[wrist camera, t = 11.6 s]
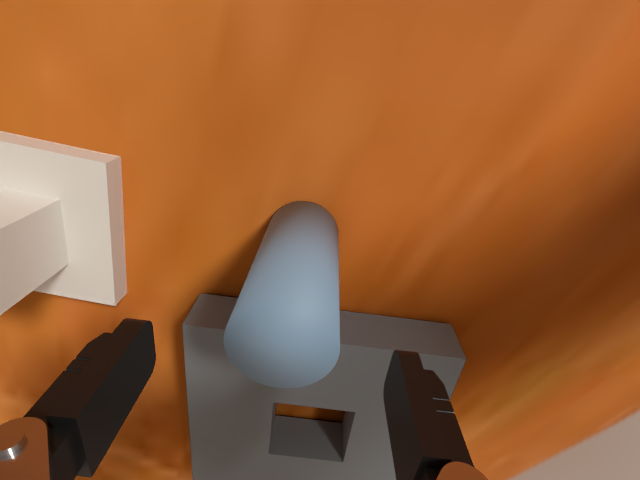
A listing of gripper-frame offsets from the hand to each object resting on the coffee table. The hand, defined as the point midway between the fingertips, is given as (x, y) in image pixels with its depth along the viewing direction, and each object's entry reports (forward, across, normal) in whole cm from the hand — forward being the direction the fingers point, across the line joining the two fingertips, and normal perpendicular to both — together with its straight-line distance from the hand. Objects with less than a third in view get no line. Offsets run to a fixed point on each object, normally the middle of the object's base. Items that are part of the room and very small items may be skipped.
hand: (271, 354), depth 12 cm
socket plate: (+9, -2, +13) cm, 16 cm away
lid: (+10, +14, +1) cm, 18 cm away
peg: (+9, 0, 0) cm, 9 cm away
